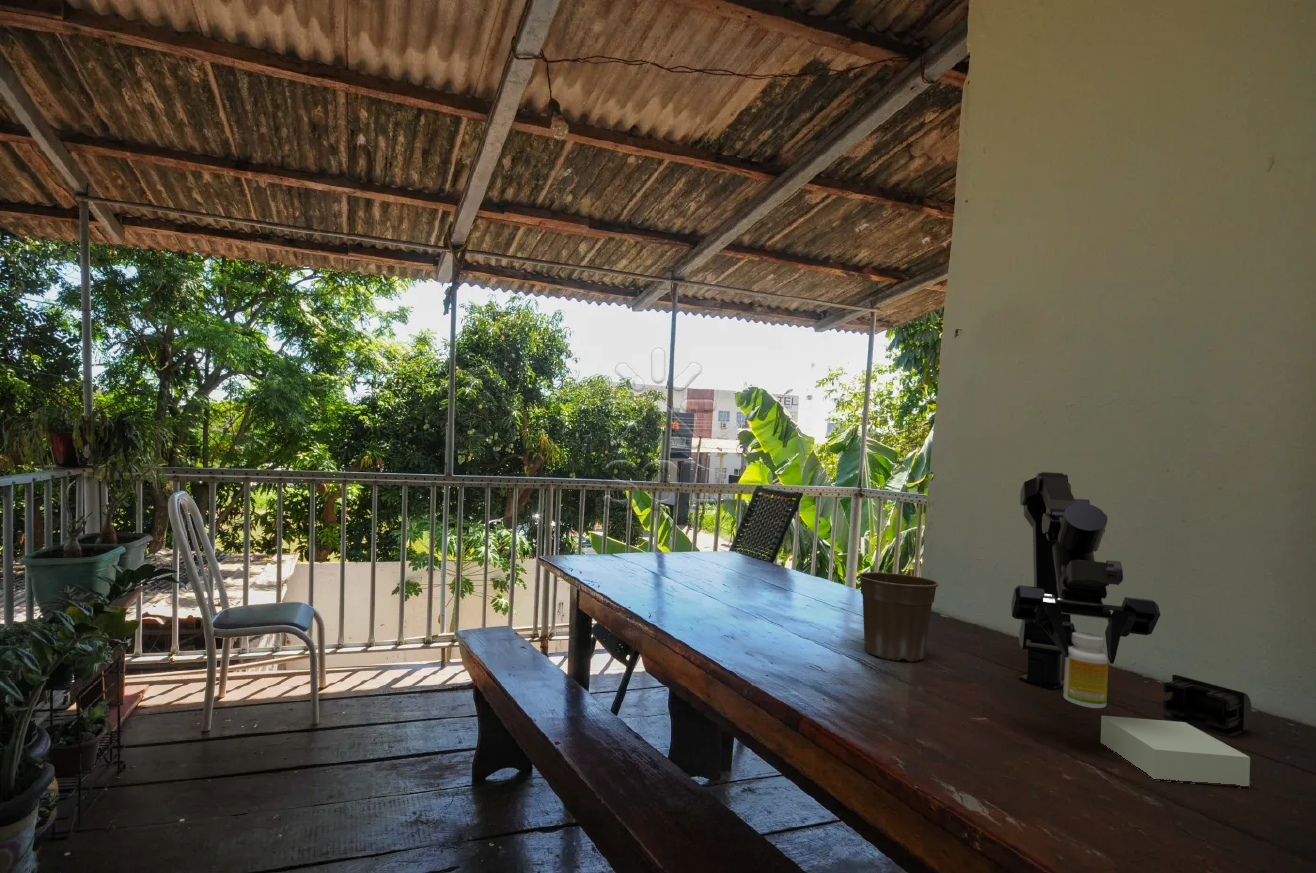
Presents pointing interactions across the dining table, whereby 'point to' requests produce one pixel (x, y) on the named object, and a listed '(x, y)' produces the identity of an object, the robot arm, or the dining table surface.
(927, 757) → the dining table surface
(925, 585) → the plant pot
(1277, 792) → the dining table surface
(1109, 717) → the plinth
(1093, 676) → the supplement bottle
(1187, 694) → the end cap
